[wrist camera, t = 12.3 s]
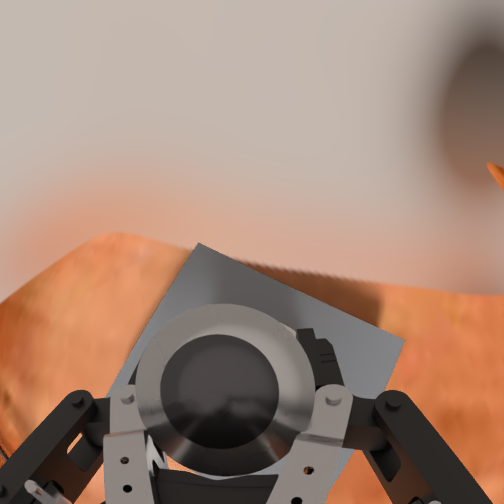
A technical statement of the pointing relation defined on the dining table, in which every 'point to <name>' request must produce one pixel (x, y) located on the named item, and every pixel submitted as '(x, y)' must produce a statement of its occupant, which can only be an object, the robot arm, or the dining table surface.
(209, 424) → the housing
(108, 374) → the dining table surface
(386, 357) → the stand
